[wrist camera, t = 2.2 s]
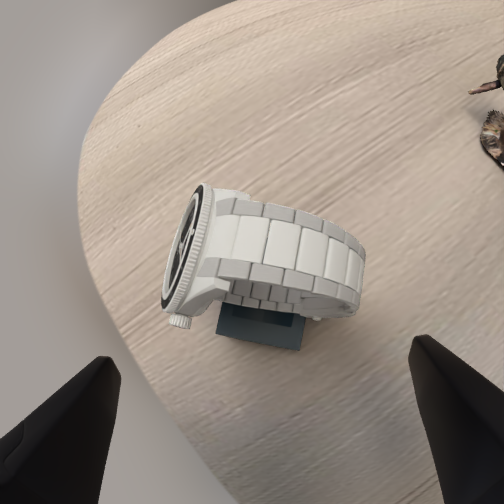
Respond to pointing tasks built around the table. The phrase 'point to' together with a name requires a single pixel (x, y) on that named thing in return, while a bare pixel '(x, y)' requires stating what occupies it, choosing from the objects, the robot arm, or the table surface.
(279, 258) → the watch
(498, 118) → the plant with pod
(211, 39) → the table surface
